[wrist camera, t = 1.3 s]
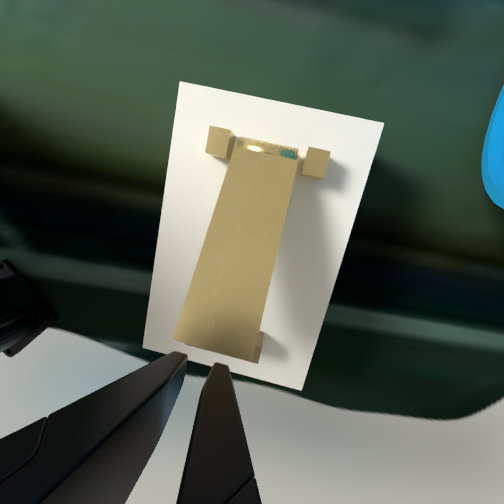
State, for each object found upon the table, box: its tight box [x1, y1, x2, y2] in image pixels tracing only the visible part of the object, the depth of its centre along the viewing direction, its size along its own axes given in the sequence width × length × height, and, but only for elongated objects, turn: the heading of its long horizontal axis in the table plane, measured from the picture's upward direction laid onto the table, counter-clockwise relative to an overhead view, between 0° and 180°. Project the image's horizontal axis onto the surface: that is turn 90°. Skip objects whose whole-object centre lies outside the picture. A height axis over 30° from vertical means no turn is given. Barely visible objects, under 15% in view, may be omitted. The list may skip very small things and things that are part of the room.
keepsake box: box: [142, 81, 384, 391], centre depth 16 cm, size 15×10×7 cm
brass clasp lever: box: [172, 136, 300, 361], centre depth 11 cm, size 10×3×1 cm, turn 169°
